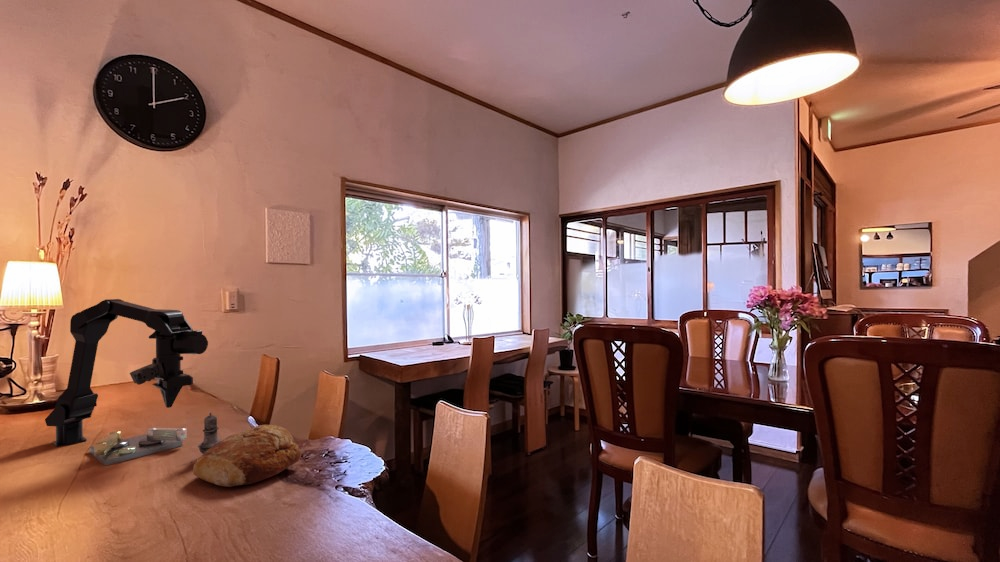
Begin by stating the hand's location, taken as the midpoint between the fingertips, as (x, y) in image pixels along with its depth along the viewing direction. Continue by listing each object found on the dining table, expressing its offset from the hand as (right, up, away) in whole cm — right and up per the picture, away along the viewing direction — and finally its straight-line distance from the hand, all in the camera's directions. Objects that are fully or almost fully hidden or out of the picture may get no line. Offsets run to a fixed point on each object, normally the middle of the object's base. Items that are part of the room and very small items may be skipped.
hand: (168, 407), depth 127 cm
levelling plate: (-7, -11, -3) cm, 13 cm away
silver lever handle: (0, -9, -2) cm, 10 cm away
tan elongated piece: (-11, -10, -7) cm, 16 cm away
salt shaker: (+18, -11, -9) cm, 23 cm away
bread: (+33, -11, -18) cm, 39 cm away
